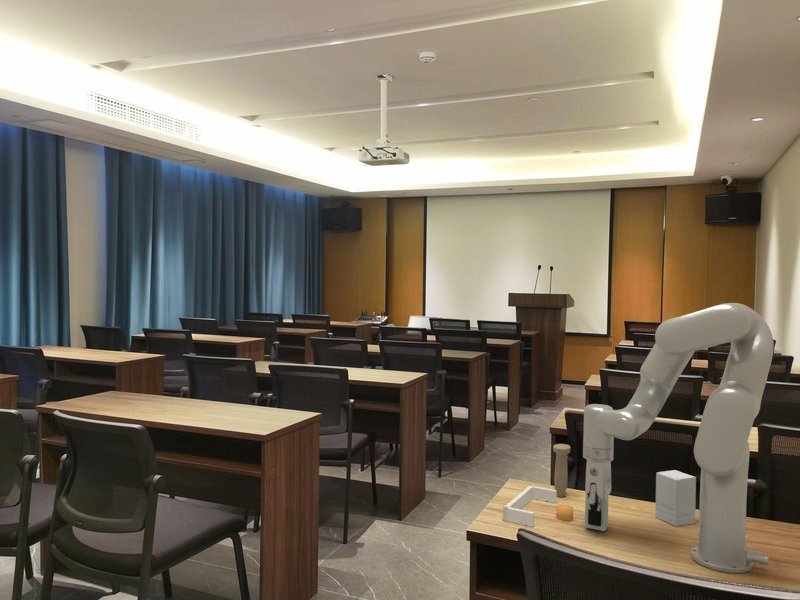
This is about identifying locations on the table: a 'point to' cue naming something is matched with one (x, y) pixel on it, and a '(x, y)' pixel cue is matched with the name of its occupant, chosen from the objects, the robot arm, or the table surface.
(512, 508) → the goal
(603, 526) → the grey tall block
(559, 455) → the handle
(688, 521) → the supplement box
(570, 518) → the puck
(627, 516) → the table surface
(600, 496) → the robot arm
